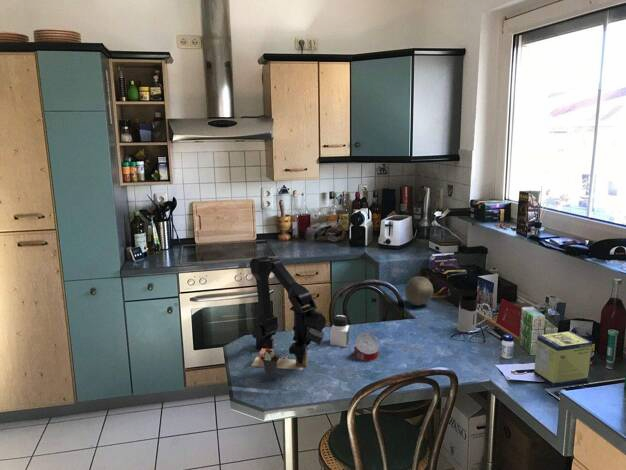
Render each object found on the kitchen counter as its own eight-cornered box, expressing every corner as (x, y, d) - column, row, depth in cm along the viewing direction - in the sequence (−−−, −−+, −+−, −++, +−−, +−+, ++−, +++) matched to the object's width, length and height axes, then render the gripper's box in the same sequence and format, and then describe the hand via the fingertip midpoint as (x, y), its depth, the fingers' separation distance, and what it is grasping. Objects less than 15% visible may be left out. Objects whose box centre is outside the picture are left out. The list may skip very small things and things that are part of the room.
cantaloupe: (404, 308, 261) (405, 280, 258) (404, 299, 275) (405, 272, 272) (433, 310, 259) (434, 282, 256) (431, 301, 273) (433, 274, 269)
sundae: (261, 379, 189) (260, 341, 185) (279, 378, 189) (279, 340, 186) (261, 388, 182) (260, 348, 179) (279, 387, 183) (279, 348, 180)
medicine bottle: (346, 347, 216) (347, 320, 213) (330, 346, 217) (330, 319, 215) (349, 340, 223) (349, 314, 220) (332, 339, 224) (333, 313, 222)
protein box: (588, 381, 187) (593, 341, 184) (553, 387, 183) (557, 346, 180) (566, 368, 197) (571, 330, 194) (532, 374, 193) (536, 335, 190)
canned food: (375, 363, 212) (387, 344, 209) (367, 370, 203) (380, 351, 200) (353, 346, 216) (365, 327, 213) (344, 353, 207) (357, 333, 204)
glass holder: (460, 324, 241) (462, 293, 238) (491, 330, 233) (493, 299, 230) (453, 329, 234) (455, 298, 231) (485, 337, 226) (487, 304, 223)
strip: (251, 368, 197) (250, 353, 196) (256, 358, 205) (256, 344, 203) (305, 372, 194) (304, 357, 192) (308, 362, 201) (308, 348, 200)
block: (259, 364, 198) (258, 353, 197) (262, 359, 202) (262, 348, 201) (270, 365, 197) (270, 354, 196) (273, 359, 202) (273, 349, 201)
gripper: (318, 334, 184) (318, 374, 187) (325, 315, 202) (325, 352, 205) (288, 332, 185) (288, 372, 189) (298, 314, 204) (298, 350, 207)
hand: (301, 361), depth 197 cm, fingers closed on strip, 3 cm apart
